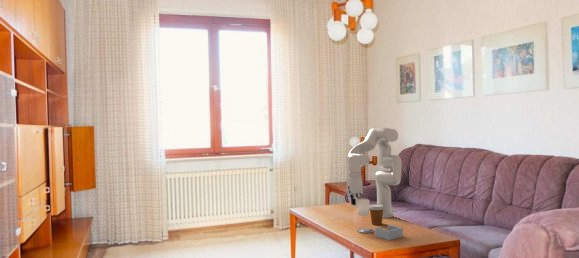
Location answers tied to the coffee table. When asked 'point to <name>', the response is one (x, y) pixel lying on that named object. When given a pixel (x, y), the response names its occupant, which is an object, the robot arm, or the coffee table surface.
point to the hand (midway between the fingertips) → (355, 204)
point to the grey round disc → (365, 230)
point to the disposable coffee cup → (376, 213)
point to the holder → (389, 232)
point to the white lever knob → (362, 206)
